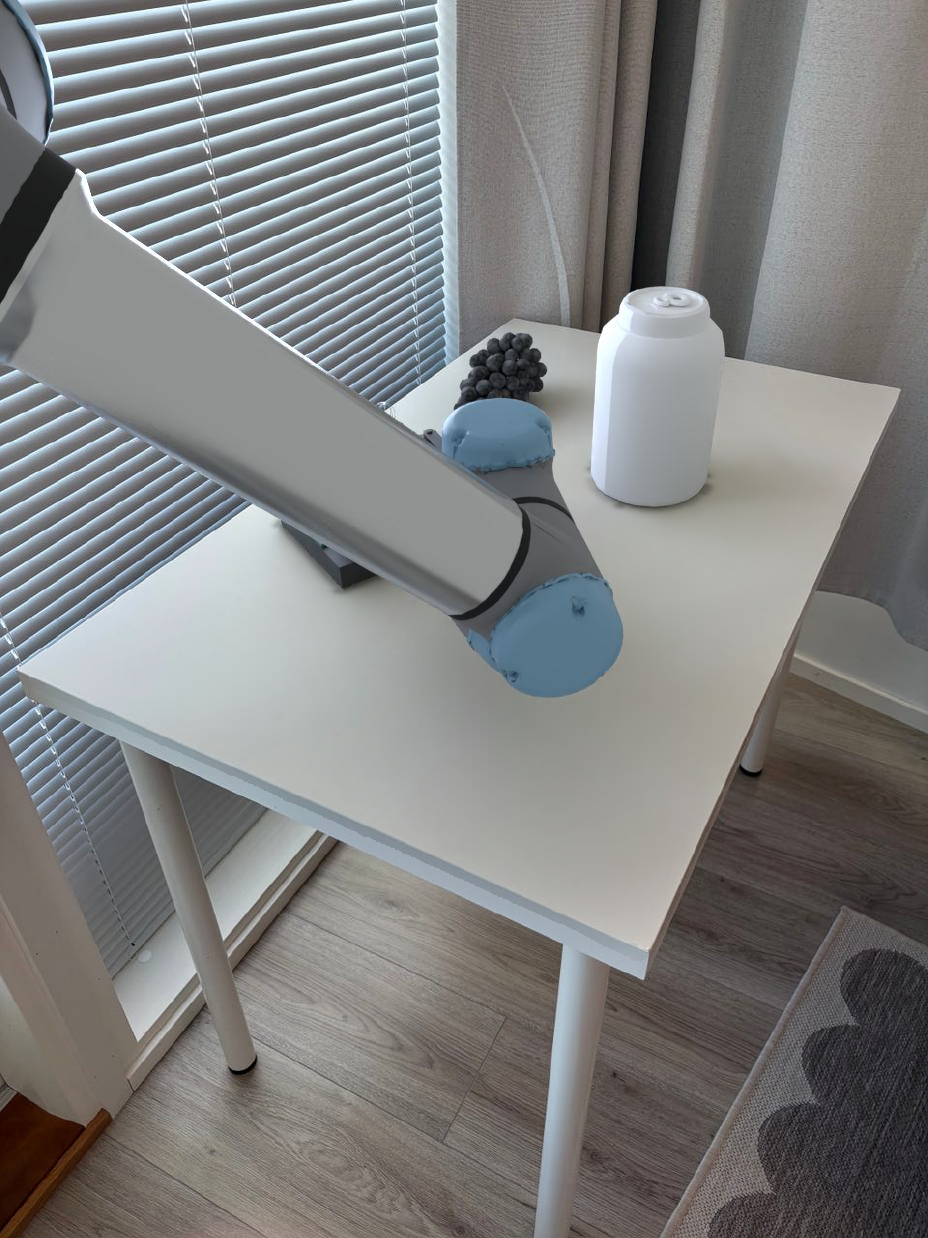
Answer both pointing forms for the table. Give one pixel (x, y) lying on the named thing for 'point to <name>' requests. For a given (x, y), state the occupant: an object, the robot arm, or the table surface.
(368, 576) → the scale
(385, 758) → the table surface
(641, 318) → the can
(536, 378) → the fruit
